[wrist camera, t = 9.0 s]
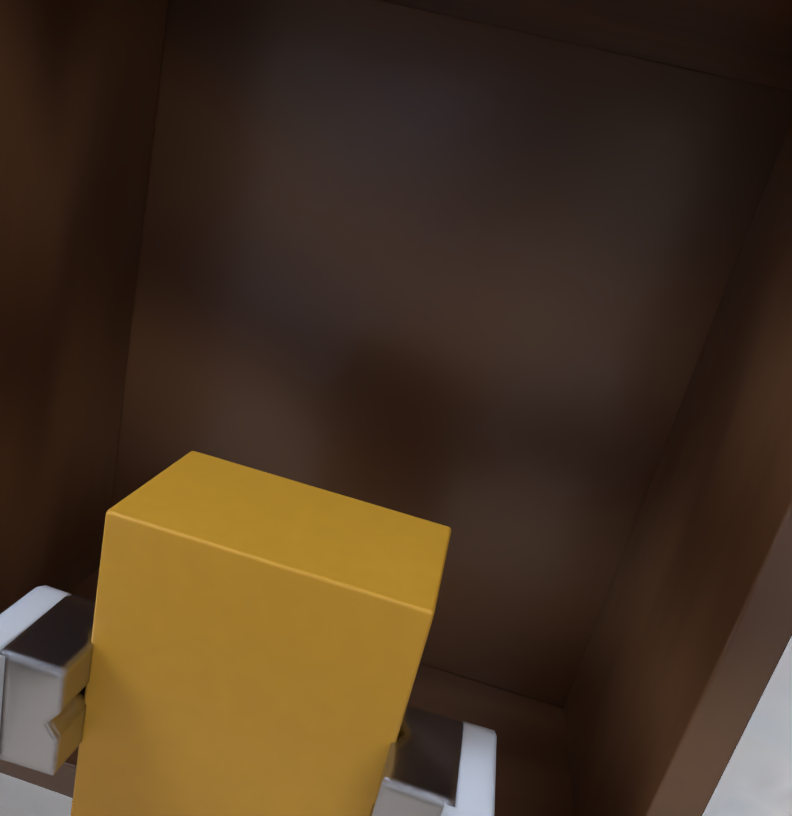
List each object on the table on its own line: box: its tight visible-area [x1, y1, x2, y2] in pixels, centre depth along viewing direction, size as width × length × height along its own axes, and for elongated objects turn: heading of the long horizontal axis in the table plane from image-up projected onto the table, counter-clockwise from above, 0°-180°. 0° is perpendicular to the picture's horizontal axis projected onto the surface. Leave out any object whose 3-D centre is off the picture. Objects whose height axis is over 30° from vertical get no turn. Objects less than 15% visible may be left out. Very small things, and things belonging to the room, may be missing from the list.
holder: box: [0, 0, 792, 816], centre depth 13 cm, size 17×15×7 cm
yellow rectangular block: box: [71, 451, 451, 816], centre depth 11 cm, size 6×4×2 cm
